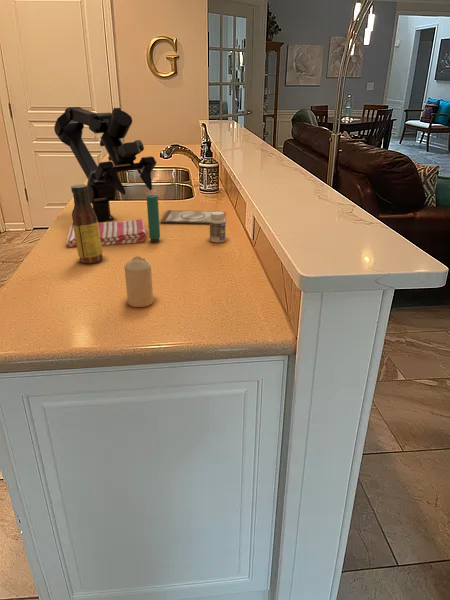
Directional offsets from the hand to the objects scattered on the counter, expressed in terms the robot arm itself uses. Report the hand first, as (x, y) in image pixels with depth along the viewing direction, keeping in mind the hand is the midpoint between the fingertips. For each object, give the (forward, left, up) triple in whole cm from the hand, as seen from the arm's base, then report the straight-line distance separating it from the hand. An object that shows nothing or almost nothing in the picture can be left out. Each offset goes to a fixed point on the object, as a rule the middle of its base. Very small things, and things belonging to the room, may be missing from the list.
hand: (138, 191), depth 141 cm
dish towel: (-4, -10, -14) cm, 17 cm away
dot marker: (+8, +1, -13) cm, 16 cm away
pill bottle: (+16, +18, -14) cm, 28 cm away
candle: (+46, -17, -14) cm, 51 cm away
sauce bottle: (+15, -20, -14) cm, 28 cm away
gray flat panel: (-10, +22, -13) cm, 28 cm away
